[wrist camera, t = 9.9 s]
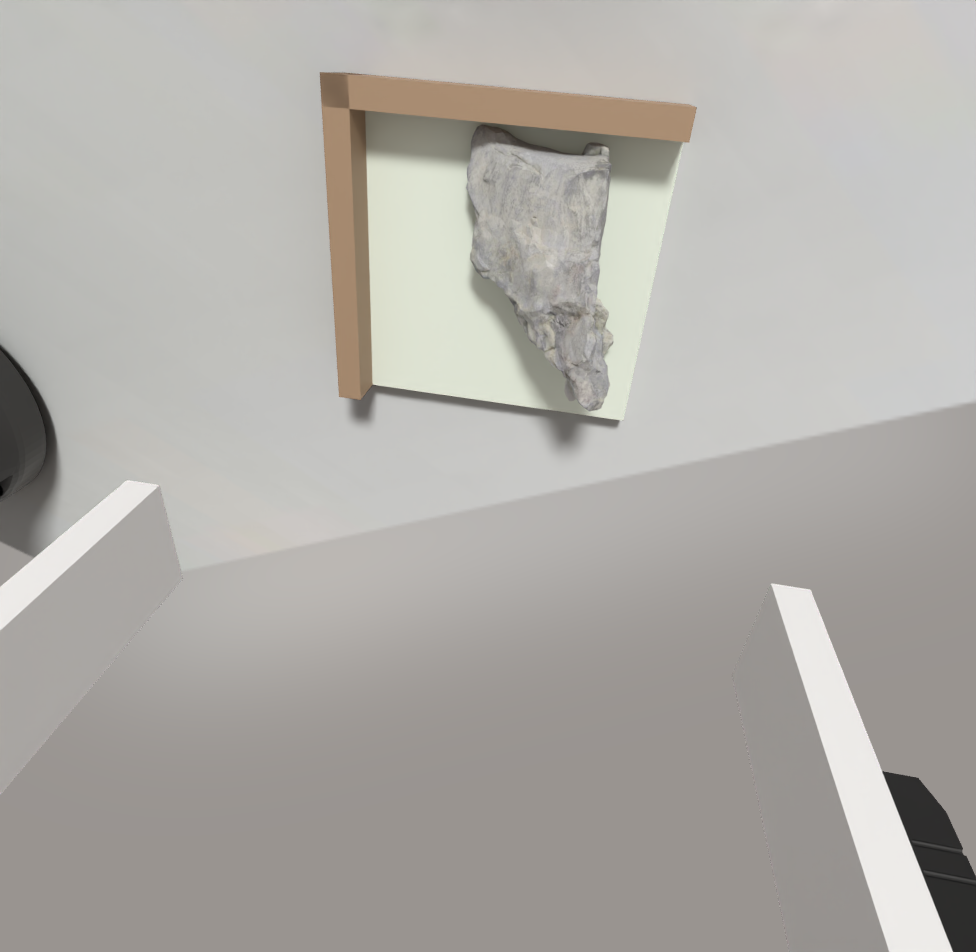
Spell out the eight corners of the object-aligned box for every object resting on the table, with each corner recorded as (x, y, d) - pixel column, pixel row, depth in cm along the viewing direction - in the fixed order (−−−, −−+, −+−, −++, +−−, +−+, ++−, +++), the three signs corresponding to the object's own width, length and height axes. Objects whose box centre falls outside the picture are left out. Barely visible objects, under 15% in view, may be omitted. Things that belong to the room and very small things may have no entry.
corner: (358, 374, 36) (339, 396, 34) (345, 72, 28) (319, 72, 26) (622, 412, 35) (623, 438, 32) (689, 104, 27) (696, 107, 24)
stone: (490, 388, 34) (476, 420, 30) (462, 129, 28) (440, 131, 24) (613, 383, 32) (613, 417, 29) (611, 110, 26) (611, 110, 23)
